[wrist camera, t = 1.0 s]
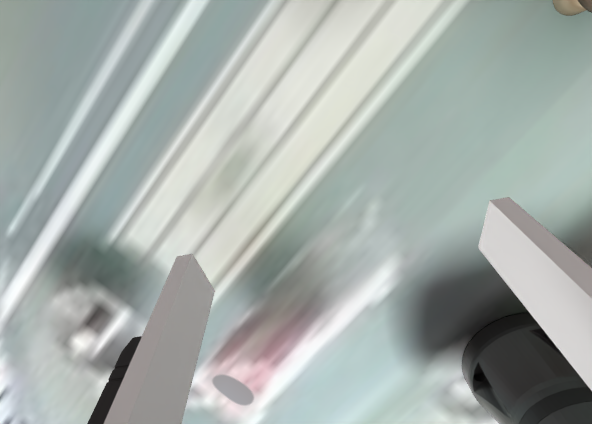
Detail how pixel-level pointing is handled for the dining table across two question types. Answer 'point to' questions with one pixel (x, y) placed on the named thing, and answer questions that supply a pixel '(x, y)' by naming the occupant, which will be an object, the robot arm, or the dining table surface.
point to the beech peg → (572, 6)
